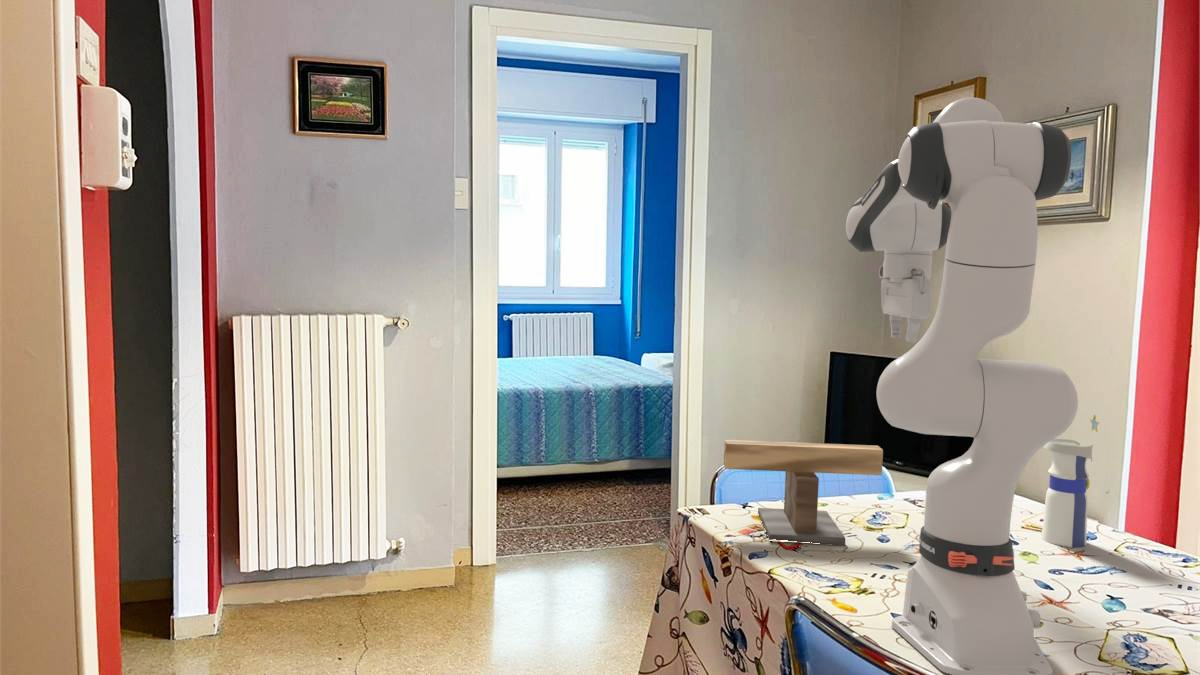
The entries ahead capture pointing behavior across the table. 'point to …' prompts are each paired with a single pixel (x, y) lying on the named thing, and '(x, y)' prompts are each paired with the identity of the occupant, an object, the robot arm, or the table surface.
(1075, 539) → the water bottle
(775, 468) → the oak rod
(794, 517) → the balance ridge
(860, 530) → the table surface
